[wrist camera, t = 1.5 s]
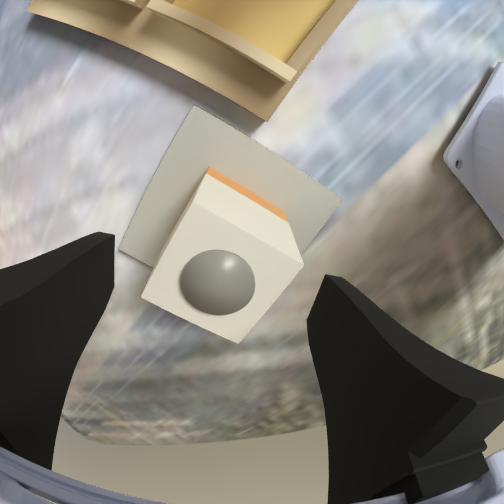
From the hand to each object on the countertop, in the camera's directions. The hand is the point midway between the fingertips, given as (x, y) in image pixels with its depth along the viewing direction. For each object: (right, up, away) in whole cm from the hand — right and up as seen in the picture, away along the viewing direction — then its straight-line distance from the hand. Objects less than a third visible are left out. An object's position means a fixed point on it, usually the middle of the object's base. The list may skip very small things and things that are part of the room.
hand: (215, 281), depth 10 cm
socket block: (-1, +14, -1) cm, 14 cm away
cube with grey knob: (0, +2, +4) cm, 5 cm away
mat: (0, +2, +5) cm, 5 cm away
